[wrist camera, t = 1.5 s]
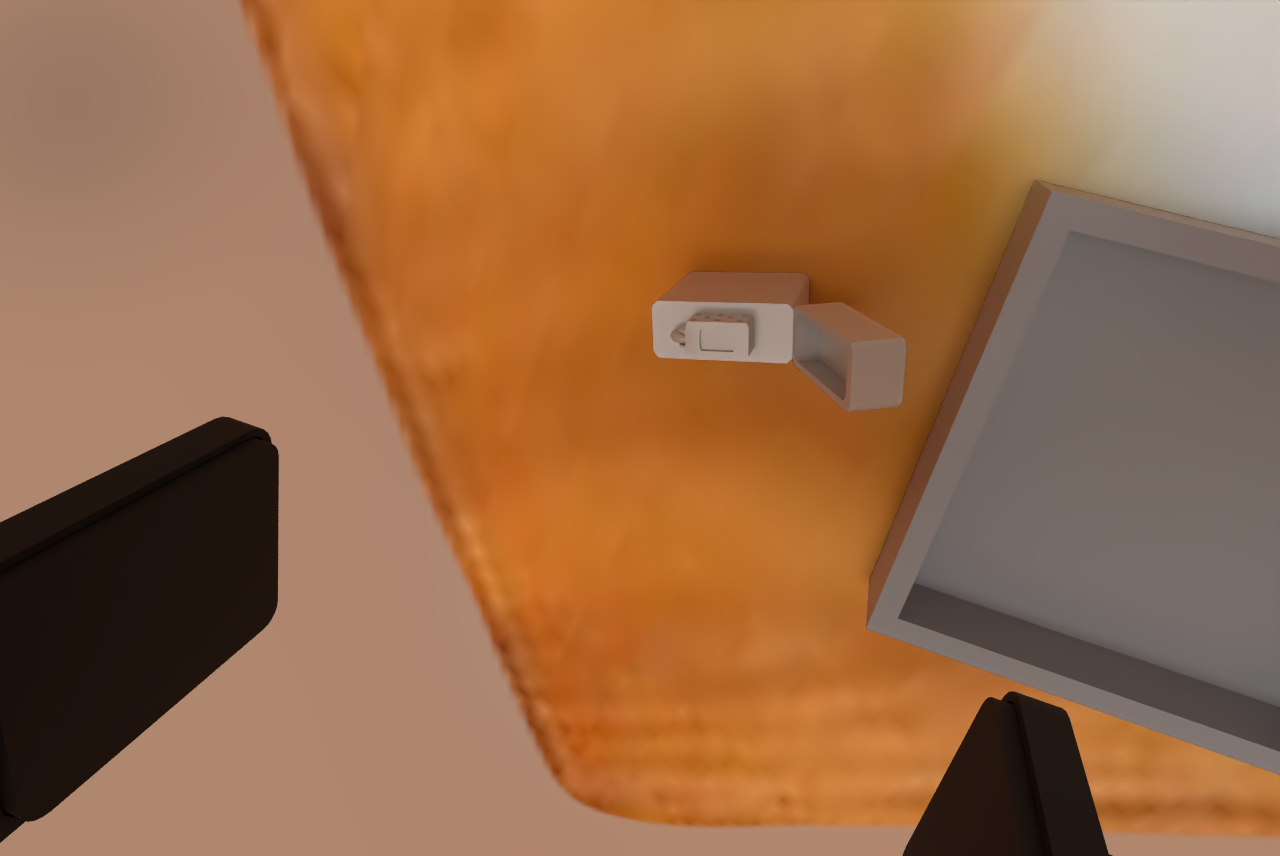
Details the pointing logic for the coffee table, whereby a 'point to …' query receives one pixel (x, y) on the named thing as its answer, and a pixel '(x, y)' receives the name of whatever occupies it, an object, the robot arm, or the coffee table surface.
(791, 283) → the lighter
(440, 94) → the coffee table surface
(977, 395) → the tray
